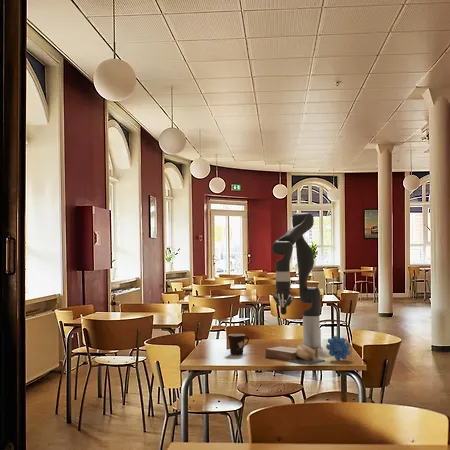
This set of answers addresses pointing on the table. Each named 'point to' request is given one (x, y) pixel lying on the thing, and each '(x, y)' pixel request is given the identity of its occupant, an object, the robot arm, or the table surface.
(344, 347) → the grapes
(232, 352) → the coffee mug
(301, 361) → the slate board
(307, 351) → the tan domed disc
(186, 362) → the table surface
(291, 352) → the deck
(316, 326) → the robot arm
